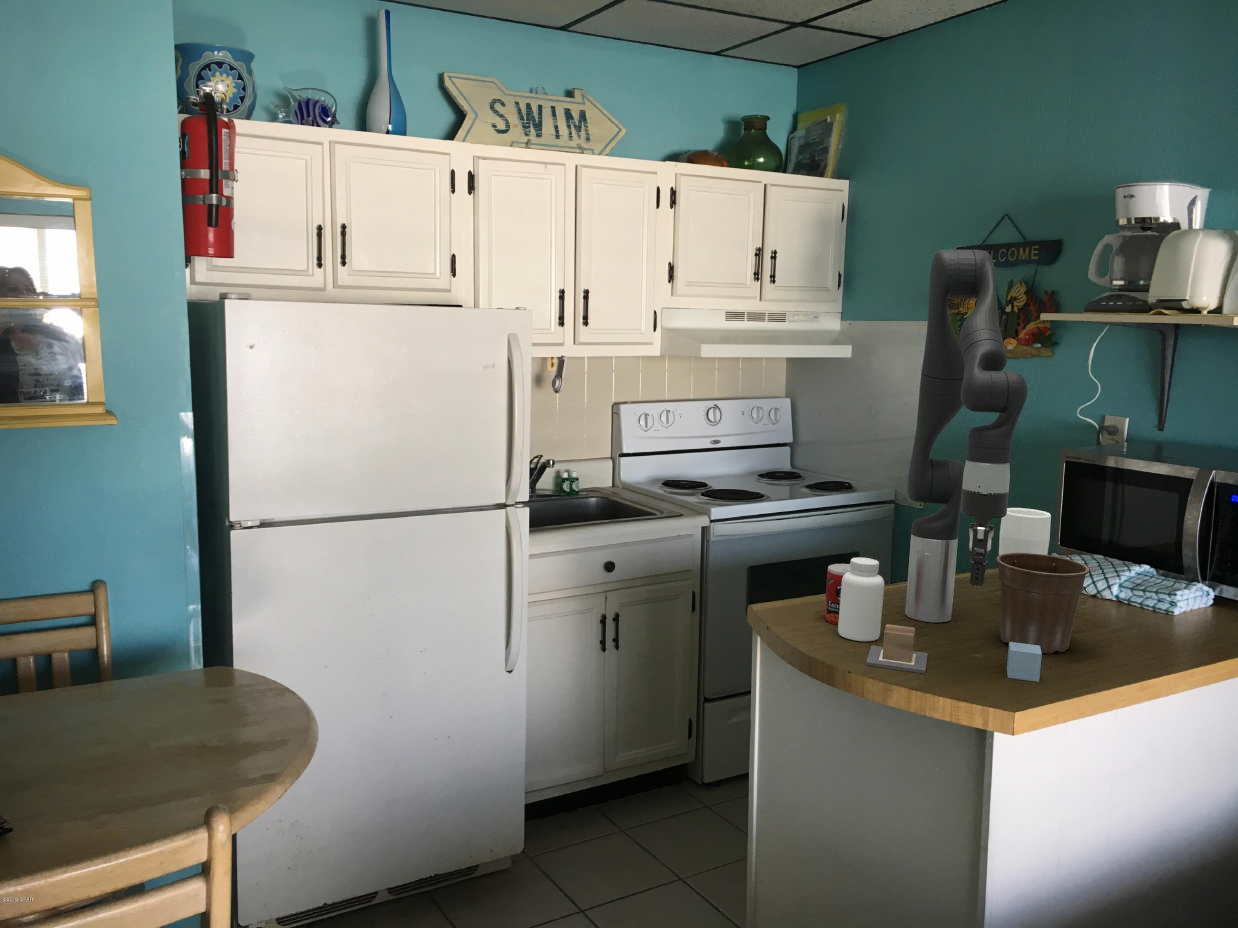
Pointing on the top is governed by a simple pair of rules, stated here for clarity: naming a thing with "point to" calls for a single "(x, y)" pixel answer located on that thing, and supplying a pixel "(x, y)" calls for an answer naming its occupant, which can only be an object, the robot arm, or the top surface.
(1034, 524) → the cup
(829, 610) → the canned food
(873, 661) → the mat
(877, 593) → the pill bottle
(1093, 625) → the top surface
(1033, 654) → the blue block
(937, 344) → the robot arm
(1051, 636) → the plant pot
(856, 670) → the top surface
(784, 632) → the top surface
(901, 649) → the walnut block
